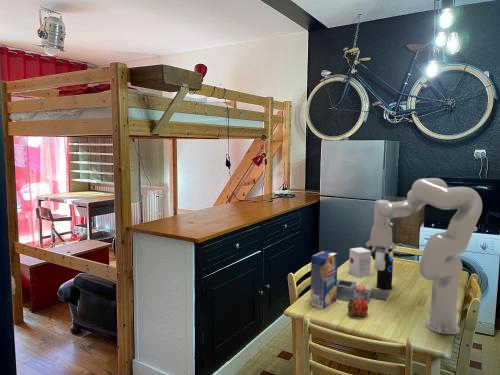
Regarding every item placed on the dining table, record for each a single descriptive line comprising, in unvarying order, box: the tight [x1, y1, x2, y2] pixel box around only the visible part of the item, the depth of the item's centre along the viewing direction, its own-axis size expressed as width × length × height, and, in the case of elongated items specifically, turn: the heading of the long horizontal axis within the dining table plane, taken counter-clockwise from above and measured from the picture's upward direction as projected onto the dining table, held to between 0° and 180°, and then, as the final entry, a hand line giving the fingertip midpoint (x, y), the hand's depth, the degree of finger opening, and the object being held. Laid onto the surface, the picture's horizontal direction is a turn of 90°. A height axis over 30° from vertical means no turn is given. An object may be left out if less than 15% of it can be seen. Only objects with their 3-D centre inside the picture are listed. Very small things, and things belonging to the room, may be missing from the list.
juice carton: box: [310, 250, 339, 310], centre depth 180 cm, size 12×8×24 cm, turn 139°
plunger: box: [356, 285, 367, 293], centre depth 182 cm, size 5×5×4 cm
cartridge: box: [374, 248, 386, 271], centre depth 188 cm, size 5×5×10 cm
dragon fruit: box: [347, 298, 369, 317], centre depth 168 cm, size 8×8×12 cm
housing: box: [336, 278, 373, 304], centre depth 189 cm, size 15×18×5 cm
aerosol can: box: [375, 250, 394, 291], centre depth 199 cm, size 8×8×20 cm
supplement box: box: [348, 246, 372, 278], centre depth 220 cm, size 9×9×15 cm
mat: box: [370, 288, 391, 302], centre depth 190 cm, size 12×9×1 cm
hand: (380, 259), depth 188 cm, fingers closed on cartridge, 5 cm apart
